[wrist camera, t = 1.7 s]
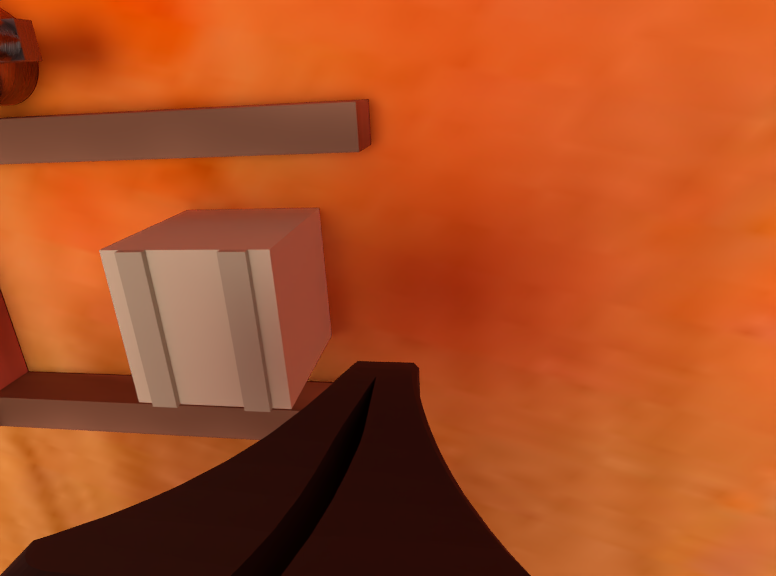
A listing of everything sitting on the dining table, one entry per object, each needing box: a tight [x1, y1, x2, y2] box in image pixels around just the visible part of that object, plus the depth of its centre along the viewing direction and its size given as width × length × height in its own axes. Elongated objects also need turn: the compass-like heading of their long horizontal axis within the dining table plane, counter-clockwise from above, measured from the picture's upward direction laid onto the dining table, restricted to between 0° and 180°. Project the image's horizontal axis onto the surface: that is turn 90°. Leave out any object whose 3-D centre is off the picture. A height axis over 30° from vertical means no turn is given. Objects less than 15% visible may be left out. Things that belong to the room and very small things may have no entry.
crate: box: [99, 208, 332, 412], centre depth 17 cm, size 5×5×5 cm
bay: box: [0, 99, 371, 440], centre depth 18 cm, size 12×17×4 cm
